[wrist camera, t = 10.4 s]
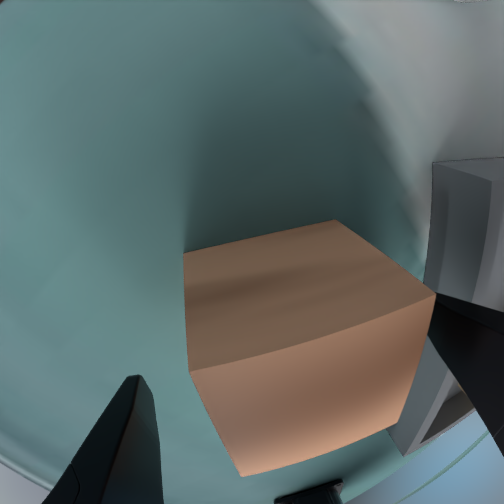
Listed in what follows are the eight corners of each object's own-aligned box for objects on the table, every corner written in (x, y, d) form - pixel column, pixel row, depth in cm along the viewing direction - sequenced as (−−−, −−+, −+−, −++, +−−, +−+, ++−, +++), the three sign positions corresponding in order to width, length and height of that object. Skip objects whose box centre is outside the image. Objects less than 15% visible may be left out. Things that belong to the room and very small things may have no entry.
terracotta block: (335, 332, 12) (397, 422, 7) (217, 365, 11) (241, 477, 7) (334, 218, 10) (436, 293, 5) (183, 252, 9) (189, 371, 5)
